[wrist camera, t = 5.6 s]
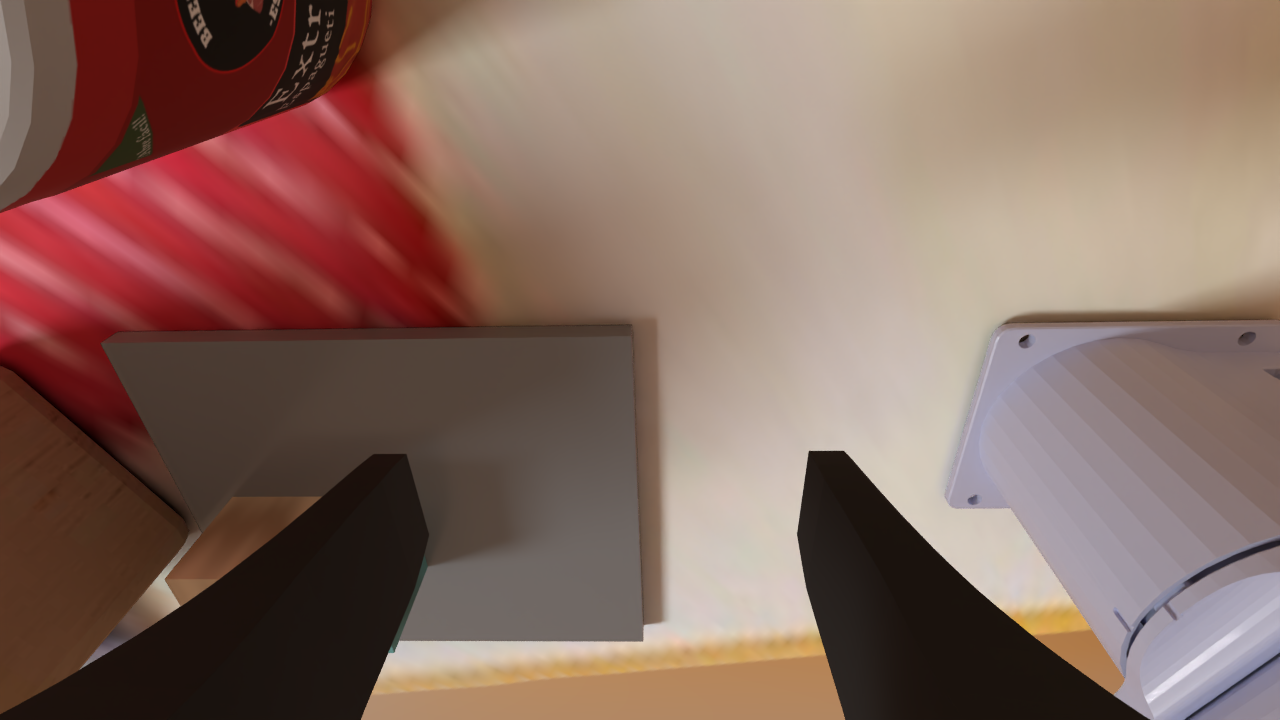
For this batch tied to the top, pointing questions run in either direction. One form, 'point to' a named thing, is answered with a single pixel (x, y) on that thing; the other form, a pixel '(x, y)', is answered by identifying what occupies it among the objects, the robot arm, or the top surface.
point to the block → (67, 543)
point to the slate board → (427, 454)
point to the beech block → (244, 545)
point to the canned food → (153, 79)
